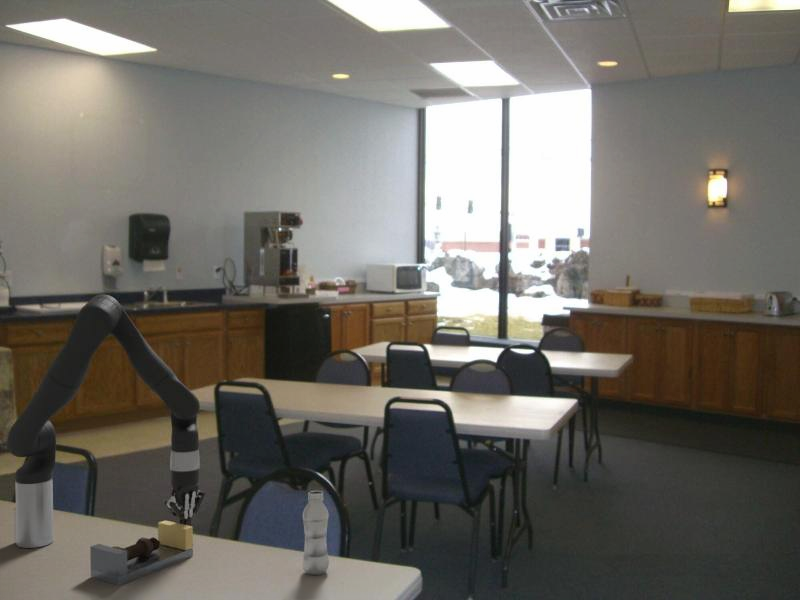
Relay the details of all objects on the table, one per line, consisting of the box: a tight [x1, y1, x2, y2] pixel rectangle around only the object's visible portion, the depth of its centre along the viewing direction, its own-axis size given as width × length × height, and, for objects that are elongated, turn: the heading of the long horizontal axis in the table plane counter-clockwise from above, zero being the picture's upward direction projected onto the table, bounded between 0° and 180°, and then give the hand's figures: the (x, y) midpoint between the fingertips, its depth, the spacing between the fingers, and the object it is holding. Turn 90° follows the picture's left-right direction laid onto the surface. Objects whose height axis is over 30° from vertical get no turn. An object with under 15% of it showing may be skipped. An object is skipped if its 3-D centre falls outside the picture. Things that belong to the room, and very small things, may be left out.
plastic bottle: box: [302, 490, 330, 576], centre depth 214 cm, size 6×7×20 cm
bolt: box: [112, 536, 160, 561], centre depth 217 cm, size 6×5×15 cm
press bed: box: [89, 543, 194, 586], centre depth 218 cm, size 10×24×8 cm, turn 148°
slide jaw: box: [157, 520, 194, 550], centre depth 228 cm, size 10×2×6 cm, turn 58°
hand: (185, 531), depth 231 cm, fingers closed
